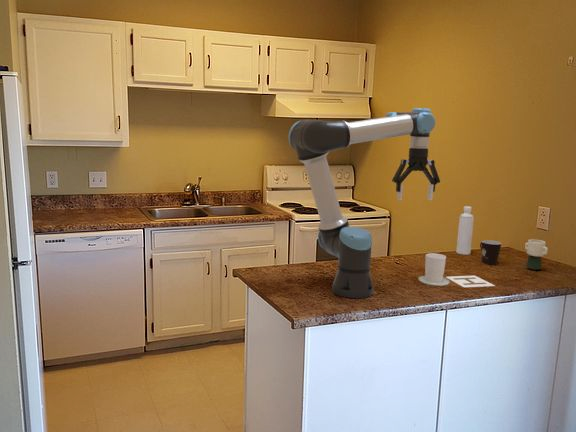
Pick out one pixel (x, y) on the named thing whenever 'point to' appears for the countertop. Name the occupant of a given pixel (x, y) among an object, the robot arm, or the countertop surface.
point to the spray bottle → (465, 232)
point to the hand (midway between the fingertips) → (414, 200)
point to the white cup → (434, 267)
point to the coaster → (443, 283)
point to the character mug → (535, 253)
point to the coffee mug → (490, 251)
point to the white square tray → (469, 281)
